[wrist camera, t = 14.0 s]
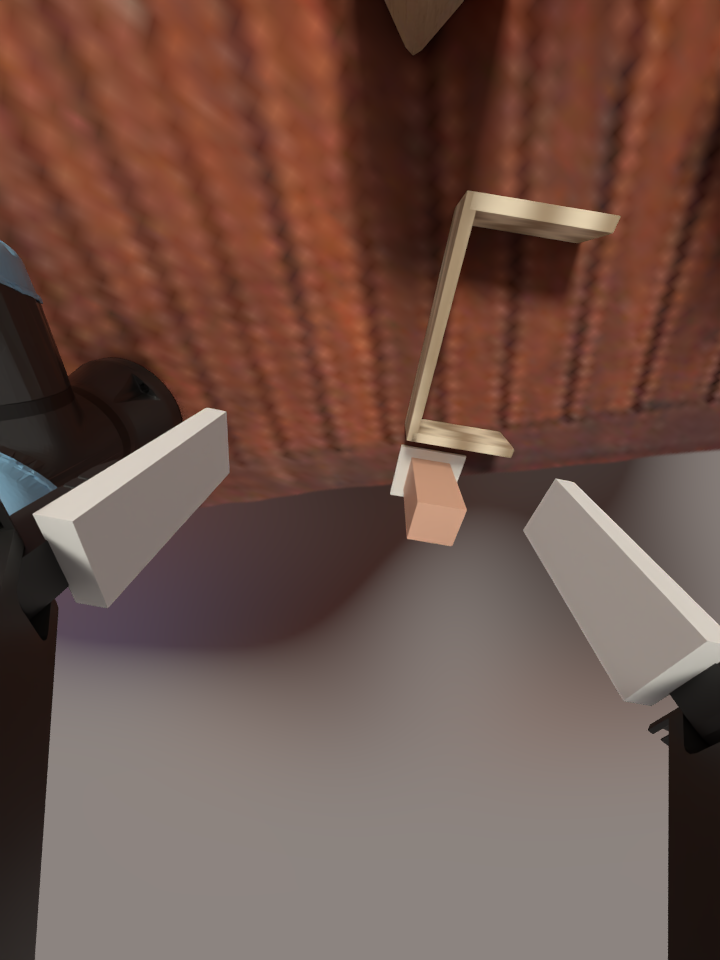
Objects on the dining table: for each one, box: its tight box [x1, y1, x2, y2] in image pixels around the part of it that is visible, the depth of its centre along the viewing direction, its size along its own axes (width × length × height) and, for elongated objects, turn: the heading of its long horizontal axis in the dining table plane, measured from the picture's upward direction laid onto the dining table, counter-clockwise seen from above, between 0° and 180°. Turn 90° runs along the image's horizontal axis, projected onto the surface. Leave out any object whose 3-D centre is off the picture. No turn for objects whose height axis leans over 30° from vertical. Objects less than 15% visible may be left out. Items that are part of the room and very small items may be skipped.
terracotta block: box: [403, 457, 467, 546], centre depth 43 cm, size 6×6×12 cm
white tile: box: [390, 445, 466, 497], centre depth 48 cm, size 10×9×1 cm
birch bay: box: [405, 190, 621, 458], centre depth 36 cm, size 14×24×6 cm, turn 172°
